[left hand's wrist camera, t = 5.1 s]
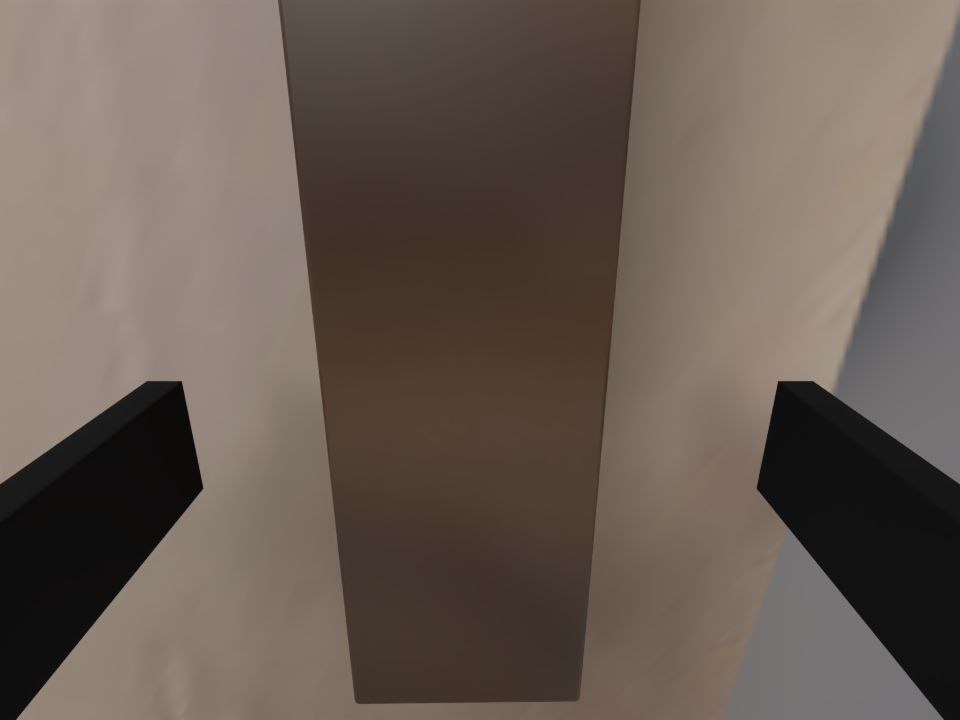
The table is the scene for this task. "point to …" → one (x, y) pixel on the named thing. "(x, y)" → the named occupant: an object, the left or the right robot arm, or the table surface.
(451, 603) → the beam
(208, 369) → the table surface
